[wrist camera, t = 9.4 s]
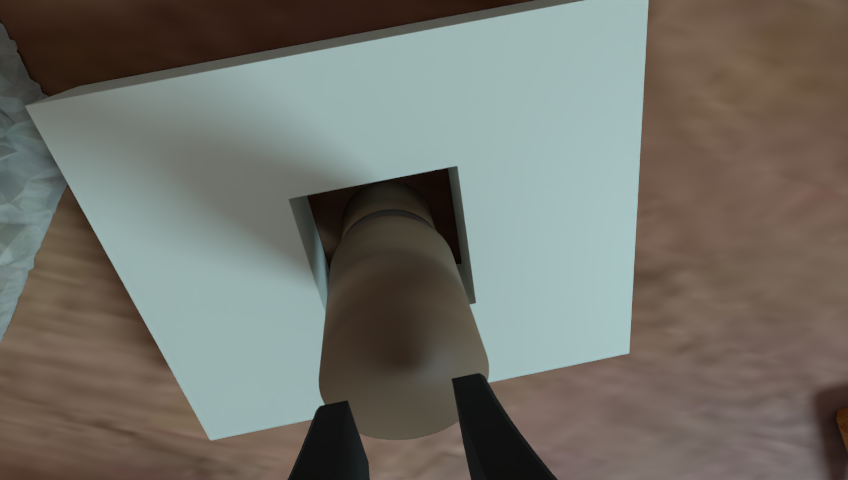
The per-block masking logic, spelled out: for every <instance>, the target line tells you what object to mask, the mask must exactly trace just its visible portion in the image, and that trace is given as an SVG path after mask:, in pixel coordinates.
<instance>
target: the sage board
mask: <svg viewBox="0 0 848 480" xmlns="http://www.w3.org/2000/svg"><path fill="white" fill-rule="evenodd" d="M647 17H648V0H534V1H529V2H523V3H518V4H513V5H507V6H502V7H497V8H492V9H486V10H481V11H476V12H470V13H465V14H460V15H454V16H449V17H444V18H438V19H433V20H428V21H422V22H417V23H412V24H406V25H401V26H396V27H391V28H385V29H380V30H375V31H369V32H364V33H359V34H353V35H348V36H343V37H337V38H332V39H327V40H321V41H316V42H311V43H306V44H300V45H295V46H290V47H284V48H279V49H274V50H268V51H263V52H258V53H252V54H247V55H242V56H236V57H231V58H226V59H220V60H215V61H210V62H205V63H199V64H194V65H189V66H183V67H178V68H173V69H167V70H162V71H157V72H151V73H146V74H141V75H135V76H130V77H125V78H119V79H114V80H109V81H104V82H98V83H93V84H88V85H82V86H78V87H75V88H73V89H70V90H67V91H64V92H62V93H59V94H56V95H53V96H51V97H48V98H45V99H42V100H40V101H37V102H34V103H32V104H29V105H26V106H25V107H26V109H27V111H28V113H29V114H30V116H31V118H32V120H33V122H34V123H35V125H36V127H37V129H38V131H39V132H40V134H41V136H42V138H43V140H44V141H45V143H46V145H47V147H48V149H49V150H50V152H51V154H52V156H53V158H54V159H55V161H56V163H57V165H58V167H59V168H60V170H61V172H62V174H63V176H64V177H65V179H66V181H67V183H68V185H69V186H70V188H71V190H72V192H73V194H74V196H75V197H76V199H77V201H78V203H79V205H80V206H81V208H82V210H83V212H84V214H85V215H86V217H87V219H88V221H89V223H90V224H91V226H92V228H93V230H94V232H95V233H96V235H97V237H98V239H99V241H100V242H101V244H102V246H103V248H104V250H105V251H106V253H107V255H108V257H109V259H110V260H111V262H112V264H113V266H114V268H115V269H116V271H117V273H118V275H119V277H120V278H121V280H122V282H123V284H124V286H125V287H126V289H127V291H128V293H129V295H130V296H131V298H132V300H133V302H134V304H135V305H136V307H137V309H138V311H139V313H140V314H141V316H142V318H143V320H144V322H145V324H146V325H147V327H148V329H149V331H150V333H151V334H152V336H153V338H154V340H155V342H156V343H157V345H158V347H159V349H160V351H161V352H162V354H163V356H164V358H165V360H166V361H167V363H168V365H169V367H170V369H171V370H172V372H173V374H174V376H175V378H176V379H177V381H178V383H179V385H180V387H181V388H182V390H183V392H184V394H185V396H186V397H187V399H188V401H189V403H190V405H191V406H192V408H193V410H194V412H195V414H196V415H197V417H198V419H199V421H200V423H201V424H202V426H203V428H204V430H205V432H206V433H207V435H208V437H209V439H210V440H215V439H220V438H225V437H229V436H234V435H239V434H244V433H249V432H253V431H258V430H263V429H268V428H273V427H277V426H282V425H287V424H292V423H297V422H301V421H306V420H311V419H313V418H314V415H315V412H316V410H317V409H318V408H319V406H322V405H325V404H324V402H323V400H322V398H321V395H320V390H319V369H320V360H321V351H322V341H323V332H324V322H325V313H326V303H327V294H328V284H329V275H330V270H329V267H328V264H327V260H326V257H325V254H324V250H323V247H322V244H321V240H320V237H319V234H318V231H317V227H316V224H315V221H314V217H313V214H312V211H311V208H310V204H309V201H308V198H307V195H311V194H316V193H321V192H326V191H331V190H336V189H341V188H347V187H352V186H357V185H362V184H367V183H372V182H377V181H382V180H387V179H392V178H398V177H403V176H408V175H413V174H418V173H423V172H428V171H433V170H438V169H443V168H448V173H449V180H450V187H451V194H452V200H453V207H454V214H455V221H456V228H457V235H458V241H459V248H460V255H461V262H462V263H461V264H457V265H456V266H457V269H458V272H459V275H460V278H461V281H462V284H463V287H464V290H465V292H466V295H467V298H468V301H469V304H470V307H471V310H472V313H473V316H474V319H475V322H476V325H477V328H478V331H479V333H480V336H481V339H482V342H483V345H484V348H485V351H486V354H487V357H488V362H489V377H488V383H489V382H494V381H498V380H503V379H508V378H513V377H518V376H522V375H527V374H532V373H537V372H542V371H546V370H551V369H556V368H561V367H566V366H570V365H575V364H580V363H585V362H590V361H594V360H599V359H604V358H609V357H614V356H618V355H623V354H628V353H629V347H630V328H631V310H632V292H633V273H634V255H635V237H636V218H637V200H638V182H639V164H640V145H641V127H642V109H643V90H644V72H645V54H646V35H647Z"/></svg>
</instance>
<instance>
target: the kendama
mask: <svg viewBox="0 0 848 480" xmlns="http://www.w3.org/2000/svg"><path fill="white" fill-rule="evenodd" d="M836 420H837V423H838V426H839V429H840V432H841V435H842V438H843V441H844V444H845V447H846V450H847V453H848V407H846V408H843V409H841V410H838V411H837V418H836Z"/></svg>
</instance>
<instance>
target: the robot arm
mask: <svg viewBox="0 0 848 480" xmlns="http://www.w3.org/2000/svg"><path fill="white" fill-rule="evenodd" d="M452 384H453V389H454V395H455V400H456V406H457V411H458V417H459V422H460V428H461V433H462V438H463V444H464V448H465V453H466V458H467V462H468V467H469V471H470V476H471V480H557V478H556V477H555V476H554V475H553V474H552V473H551V472H550V470H549V469H548V468H547V467H546V465H545V464H544V463H543V462H542V460H541V459H540V458H539V457H538V455H537V454H536V453H535V452H534V450H533V449H532V448H531V446H530V445H529V444H528V442H527V441H526V440H525V439H524V437H523V436H522V435H521V433H520V432H519V431H518V429H517V428H516V426H515V425H514V424H513V422H512V421H511V419H510V418H509V416H508V415H507V413H506V412H505V410H504V409H503V407H502V406H501V404H500V403H499V401H498V399H497V398H496V396H495V394H494V393H493V391H492V389H491V387H490V386H489V384H488V382H487V380H486V378H485V376H484V375H482V374H480V373H476V374H471V375H467V376H462V377H457V378H452ZM288 480H370V478H369V465H368V460H367V457H366V454H365V451H364V448H363V445H362V442H361V439H360V436H359V433H358V430H357V427H356V424H355V421H354V418H353V415H352V412H351V409H350V406H349V403H348V400H346V401H341V402H337V403H332V404H327V405H322V406H319V408H318V409H317V410H316V412H315V415H314V418H313V420H312V423H311V426H310V428H309V431H308V433H307V436H306V438H305V441H304V443H303V446H302V448H301V451H300V453H299V455H298V458H297V460H296V462H295V465H294V467H293V469H292V472H291V474H290V476H289V478H288Z"/></svg>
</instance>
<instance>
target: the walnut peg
mask: <svg viewBox="0 0 848 480" xmlns="http://www.w3.org/2000/svg"><path fill="white" fill-rule="evenodd" d="M476 373H480V374H482V375H484V376H485V378H486V380H487V382H488V377H489V362H488V357H487V354H486V351H485V348H484V345H483V342H482V339H481V336H480V333H479V331H478V328H477V325H476V322H475V319H474V316H473V313H472V310H471V307H470V304H469V301H468V298H467V295H466V292H465V290H464V287H463V284H462V281H461V278H460V275H459V272H458V269H457V266H456V263H455V260H454V257H453V254H452V252H451V249H450V247H449V245H448V244H447V242H446V241H445V240H444V238H443V237H442V236H441V235H440V234H439V233H438V232H436V229H435V226H434V223H433V219H432V216H431V213H430V210H429V207H428V205H427V203H426V201H425V199H424V198H423V197H422V196H421V195H420V194H419V193H418V192H417V191H416V190H415V189H413V188H411V187H410V186H408V185H405V184H402V183H399V182H393V181H384V182H377V183H373V184H371V185H368V186H366V187H364V188H362V189H361V190H359V191H358V192H357V193H356V194H355V195H354V196H353V197H352V198H351V199H350V201H349V202H348V204H347V206H346V208H345V212H344V216H343V226H342V240H341V243H340V244H339V246H338V247H337V249H336V251H335V253H334V255H333V258H332V261H331V267H330V275H329V284H328V294H327V303H326V313H325V322H324V332H323V341H322V351H321V360H320V369H319V390H320V395H321V398H322V400H323V402H324V404H325V405H327V404H332V403H337V402H341V401H346V400H348V403H349V406H350V409H351V412H352V415H353V418H354V421H355V424H356V427H357V430H358V433H360V434H363V435H365V436H369V437H373V438H378V439H385V440H407V439H414V438H419V437H424V436H428V435H431V434H434V433H437V432H439V431H441V430H444V429H446V428H448V427H449V426H451V425H453V424H455V423H456V422H458V421H459V417H458V411H457V406H456V400H455V395H454V389H453V384H452V378H457V377H462V376H467V375H471V374H476Z"/></svg>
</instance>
